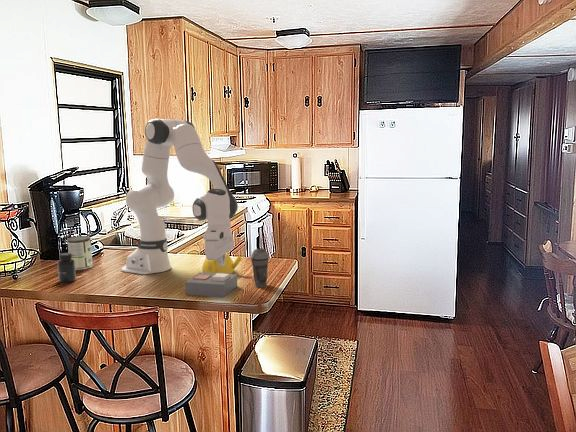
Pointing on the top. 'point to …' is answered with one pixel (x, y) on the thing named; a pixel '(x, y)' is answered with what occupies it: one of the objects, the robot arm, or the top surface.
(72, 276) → the supplement bottle
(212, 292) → the key console
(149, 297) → the top surface
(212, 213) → the robot arm
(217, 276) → the white key
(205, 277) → the terracotta key
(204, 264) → the teapot
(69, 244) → the coffee can
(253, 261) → the beverage cup
